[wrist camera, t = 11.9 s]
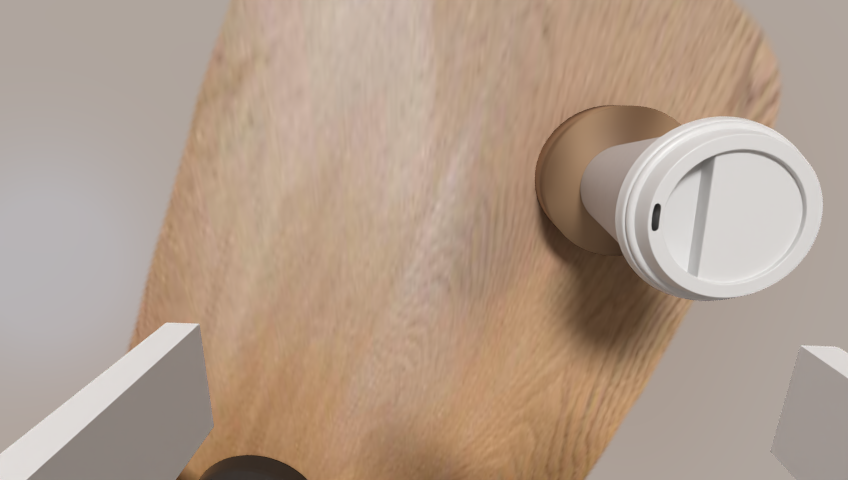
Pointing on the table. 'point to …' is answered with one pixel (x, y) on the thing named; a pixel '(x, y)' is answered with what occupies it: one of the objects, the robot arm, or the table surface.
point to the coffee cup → (707, 207)
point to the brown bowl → (572, 155)
